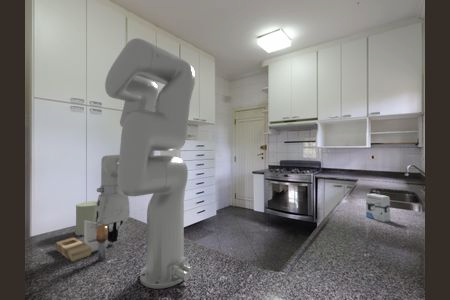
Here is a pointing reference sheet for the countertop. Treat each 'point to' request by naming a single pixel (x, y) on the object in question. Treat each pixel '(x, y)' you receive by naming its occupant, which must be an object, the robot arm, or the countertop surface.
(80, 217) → the can
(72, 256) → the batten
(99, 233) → the awl
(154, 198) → the robot arm
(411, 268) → the countertop surface
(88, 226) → the white angled block
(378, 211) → the ink box
